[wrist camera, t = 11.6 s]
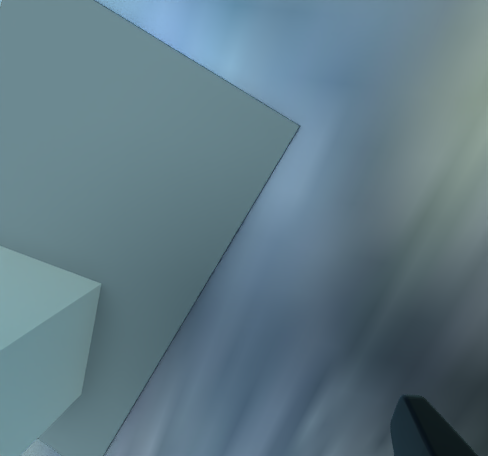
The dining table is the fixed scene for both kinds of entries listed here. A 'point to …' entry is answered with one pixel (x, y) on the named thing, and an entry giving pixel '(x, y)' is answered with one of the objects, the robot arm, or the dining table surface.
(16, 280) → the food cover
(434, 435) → the robot arm
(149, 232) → the placemat
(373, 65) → the dining table surface
